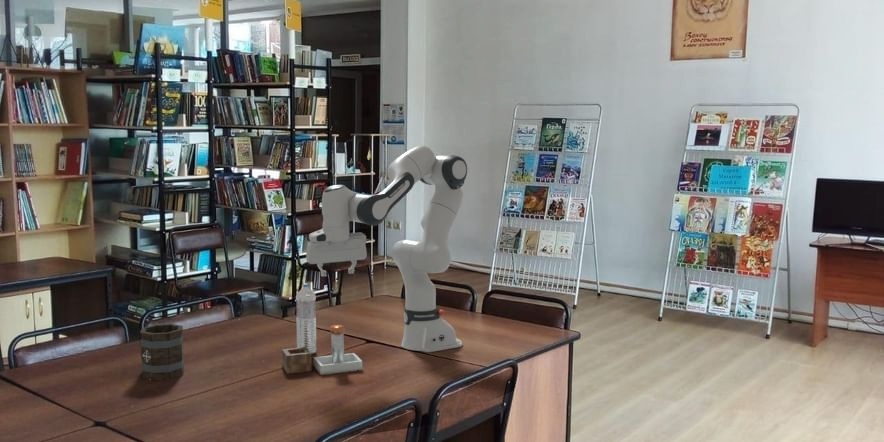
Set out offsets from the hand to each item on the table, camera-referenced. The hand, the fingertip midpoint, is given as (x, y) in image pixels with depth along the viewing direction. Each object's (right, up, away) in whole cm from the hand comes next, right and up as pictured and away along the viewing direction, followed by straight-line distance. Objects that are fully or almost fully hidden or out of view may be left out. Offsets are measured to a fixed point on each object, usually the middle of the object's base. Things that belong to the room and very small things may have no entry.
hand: (337, 274), depth 258 cm
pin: (0, -30, -2) cm, 30 cm away
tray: (0, -31, -2) cm, 31 cm away
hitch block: (-13, -31, -3) cm, 34 cm away
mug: (-57, -32, -7) cm, 65 cm away
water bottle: (-13, -29, +15) cm, 35 cm away
